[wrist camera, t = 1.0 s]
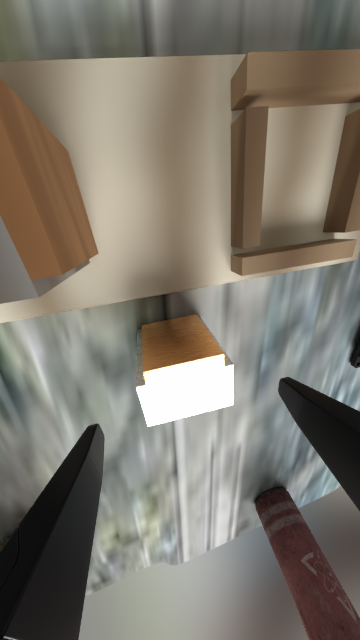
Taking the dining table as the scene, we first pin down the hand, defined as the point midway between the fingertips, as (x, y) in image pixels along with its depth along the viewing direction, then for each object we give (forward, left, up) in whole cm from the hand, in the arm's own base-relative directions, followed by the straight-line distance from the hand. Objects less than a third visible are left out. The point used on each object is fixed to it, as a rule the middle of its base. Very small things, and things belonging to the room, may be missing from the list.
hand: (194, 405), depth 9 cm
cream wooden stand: (-2, -9, -7) cm, 11 cm away
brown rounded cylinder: (-12, +35, -7) cm, 38 cm away
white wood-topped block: (0, 0, -7) cm, 7 cm away
